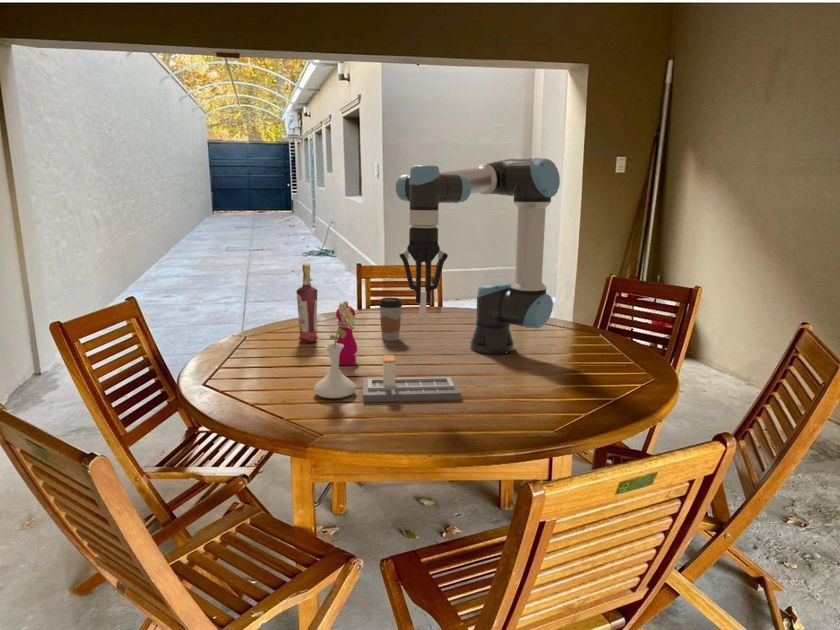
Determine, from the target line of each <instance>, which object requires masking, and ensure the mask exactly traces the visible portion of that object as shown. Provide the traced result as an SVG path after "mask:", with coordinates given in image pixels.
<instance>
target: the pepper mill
mask: <svg viewBox="0 0 840 630" xmlns="http://www.w3.org/2000/svg"><path fill="white" fill-rule="evenodd" d="M343 303H345V305H346V307H347V308H350V310H351V313H352V315H353V316H354V317H355V318H356V311H355V308H353V307H352V306H351V305H349V303H348V301H346V300H344V301H343V302H342V304H343ZM335 316H336V319H337V320H338V321H337V326H338V327H339V324H340V322H341V320H342V318H341V316H340V313H339V307H337V309H336V313H335ZM339 329H342V330H344V331H345V332H346V336H345V337H344V338H341V337H340V336H339V335H338V337H339V338H338V339H337V340H336V343H339V344H343V345H344V347H343V348H342V350H341V352H340V356H339V365H341V366H347V365H353V364H355V363H356V362H357V356H356V355H355V354H356V353H357V352H358V345H357V342H356V340H355V338H354V334H353V330H352V329H350V328H347V326H346V325H345V324H344V322H343V321H342V323H341V325H340V328H339Z"/></svg>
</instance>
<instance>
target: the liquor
mask: <svg viewBox="0 0 840 630" xmlns="http://www.w3.org/2000/svg"><path fill="white" fill-rule="evenodd" d="M302 273H303V274H302V286H300V287H298V289H296V302H297V304H296V305H297V313H298V314H297V315H298V324H299V325H298V326H299V337H298V340H299V341H300V342H301V343H302V344H303V343H304V344H312V343H315V342H316V341H317V340H318V338H319V337H318V336H317V335H318V333H317V322H318V320H317V317H318V315H317V313H318V289H316V288H315V287H314V286H312V282H311V264H302Z"/></svg>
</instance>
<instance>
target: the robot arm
mask: <svg viewBox="0 0 840 630" xmlns="http://www.w3.org/2000/svg"><path fill="white" fill-rule="evenodd" d="M560 179H561V178H560V173H559V170H558V167H557V166H556V163H554V161H552V160H551V159H549V158H544V157H543V158H539V157H532V158H508V159H503V160H497V161H494V162H490V163H481V164H480V165H478V166H477V167H473V168H464V169H454V170H445V171H444V170H443V171H440V168H439V166H438V165H429V164H427V165H422V164H420V165H419V164H418V165H417V164H416V165H413V166H411V167H410V171H409V173H408V174H402V175H400V176H399V177H398V179H397V180H396V183H395V193H396V195H397V197H398V198H399V200H401V201H405V202H409V223H408V224H409V225H410V226H411V227H409V231H408V232H409V233H408V235H409V237H408V238H409V239H408V240H409V241H408V245H407V249H406V250H404V251H403V252H399V254H398V255H399V258H400V259H401V261H402V262H403V266H404V267H403V268H404V271H405V275H406V280H407V283H408V287H409V289H410V290H412V291H415V303H416V304H419V310H418V311H419V316H420V317H426V316H427V304H430V303H431V292H432V291H433V290H437V289H438V286H439V282H440V280H441V279H440V278H441V276H442V275H441V274H442V271H443V268H444V264H445V262H446V260H447V258H448V257H449V255H448V253H446V252H444V251H442V250H441V248H440V246H439V229H438V227H437V226H438V225H439V205H440V204H441V203H443V204H459V203H464V202H465V201H468V199H469V197H470V196H471V194H478V193H479V194H480V195H499V196H501V195H502V196H507V197H513V204H515V205H516V207H517V208H518V209H517V230H516V233H517V234H516V254H515V255H516V257H515V258H516V260H515V281H514V282H513V283H512V284H511V283H507V282H506V283H505V282H504V283H502V282H501V283H489V284H482V285H481V286H479V287H477V288H478V289H477V296H476V321H475V322H476V323H475V328H474V332H473V334H472V338H471V340H470V349H471V350H472V351H474V352H477V353H480V354H489V355H500V354H499V353H505V354H507V353H506V352H509V353H511V352H510V351H512V350H513V351H514V346H515V344H514V339H513V336H512V333H511V329H510V327H511V326H510V325H515V326H520V327H524V328H527V329H540V328H542V327H544V326H545V325H546V324H547V323H548V321H549V320H550V318H551V316H552V312H553V310H554V309H553V308H554V301H553V299H552V296H550V295H549V294H547V286H546V285H545V284H544V282H543V265H544V247H545V246H544V245H545V230H546V229H545V228H546V208H547V207H548V206H550V204H551V203H552V197H555V196H556V195H557V193H558V191H559V188H560V186H561V185H560V183H561V181H560ZM409 255H410V256H411V258H412V259H413V261H415V284H414V280H413V275H412V271H411V268H410V263H409V258H410V256H409ZM436 256H437V258H438V259H437V263H436V267H435V272H434V275H433V279H432V278H431V277H432V261H433V260H434V259H435V258H436ZM422 263H424V266H425V267H424V269H425V270H424V271H425V272H424V274H425V275H424V287H425V288H424V290H423V289H422ZM513 351H512V352H513Z"/></svg>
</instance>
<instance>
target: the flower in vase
mask: <svg viewBox="0 0 840 630" xmlns="http://www.w3.org/2000/svg"><path fill="white" fill-rule="evenodd" d="M338 308H339V313H340V316H341V318H342V320H341V322H340V324H339V326H338V327H337V330H336V334H335V335H332V334H330V337H329V340H330V341H334V342H333V343H328V344H327V343H326V344H325V345H324V347H325V348H326V350H327V352H328V355H329V361H330V369H329V372H328V374H327V375H325V376H324V377H322V379H320V380H319V381H318V382H317V383H316V384H315V386H314V387H313V392H314V393H315V394H316V395H317V396H319V397H321V398H324V399H325V398H327V399H342V398H347V397H348V396H351V395H353V394H354V393H355V392H356V390H357V386H356V384H355V383H354V382H353V381H352V380H351V379H349V378H348V377H347V376H346V375H344V374H343V373H342V372H341V370H340V364H339V356H340V352H341V350H342V348H343V347H344V345H343V344H339V343H336V342H337V340H338V338H339V336H340V337H341V338H344V337H345V336H346V332H345V331H344V330H342V329H339V328H340V325H341V323H342V321H343V322H344V324H345V325H346V326H347V328H350V329H352V331H353V330H356V328H355V327H356V326H357V323H356V320H355V319H356V316H355V317H354V316H353V315H352V313H351V310H350V308H347V307H346V305H345V303H343V302H340V303H339V305H338Z"/></svg>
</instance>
